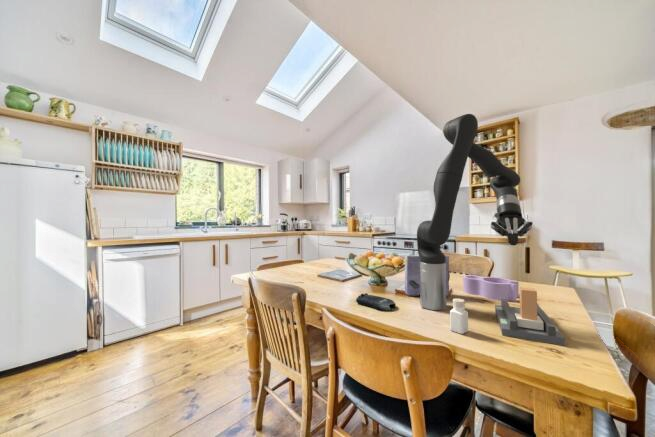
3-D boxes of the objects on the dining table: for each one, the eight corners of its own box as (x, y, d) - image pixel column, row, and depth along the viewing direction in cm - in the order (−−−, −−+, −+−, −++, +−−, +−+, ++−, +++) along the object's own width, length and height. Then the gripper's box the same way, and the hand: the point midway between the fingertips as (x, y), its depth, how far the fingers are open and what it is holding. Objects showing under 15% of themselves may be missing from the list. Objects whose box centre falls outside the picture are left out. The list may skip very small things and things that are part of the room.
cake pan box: (448, 293, 117) (447, 254, 117) (452, 296, 112) (451, 255, 112) (404, 292, 119) (403, 254, 118) (406, 296, 114) (406, 256, 113)
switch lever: (514, 320, 81) (514, 285, 80) (539, 323, 78) (538, 288, 78) (517, 326, 76) (517, 290, 76) (543, 330, 73) (543, 292, 73)
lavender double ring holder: (460, 293, 116) (459, 278, 116) (468, 287, 125) (468, 273, 125) (514, 303, 102) (514, 286, 102) (519, 296, 111) (519, 280, 111)
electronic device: (355, 309, 104) (388, 312, 95) (354, 294, 105) (387, 296, 96) (367, 305, 111) (400, 308, 102) (367, 292, 112) (398, 293, 103)
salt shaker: (462, 335, 77) (462, 303, 76) (449, 330, 80) (448, 299, 80) (469, 331, 79) (468, 300, 79) (456, 327, 82) (455, 297, 82)
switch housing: (494, 310, 95) (494, 297, 95) (543, 316, 89) (543, 303, 89) (502, 335, 76) (502, 319, 76) (565, 345, 69) (564, 328, 69)
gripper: (488, 202, 101) (491, 236, 90) (531, 201, 94) (539, 237, 84) (487, 215, 105) (490, 249, 95) (528, 215, 99) (536, 251, 89)
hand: (513, 243), depth 89 cm, fingers closed
